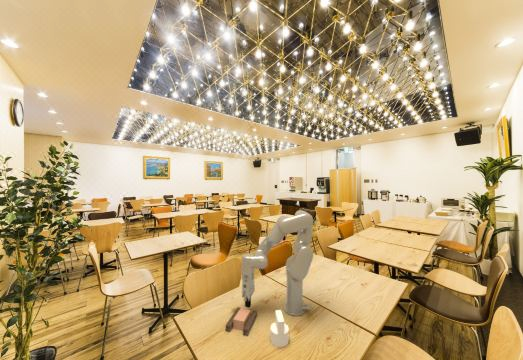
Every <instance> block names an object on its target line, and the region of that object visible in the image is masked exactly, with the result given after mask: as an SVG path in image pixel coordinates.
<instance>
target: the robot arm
mask: <svg viewBox="0 0 523 360" xmlns="http://www.w3.org/2000/svg"><path fill="white" fill-rule="evenodd" d="M313 224H314V218H313V216H312V215H311V214H310V213H308V212H307V211H305V210H302V209H299V210H297V211H296V212H295V214H294V216H292V217H288V216H286V215H281V216H279V217H278V218H277V219H276V222H275V223H274V225H273V227H272V228H271V229H270V231H269V232H268V234H267V236H265V238H264V239H263V240H262V241H261V242H260V244H259V245H258V247H257V248H256V250H255V252H254V254H252V253H249V252H248V253H244V254H242V256H241V280H242V283H241V297H242V298H243V302H244V307H246V308H251V307H252V300H251V299H252V296H253V295H254V293H255V291H256V288H255V287H256V286H255V269H257V270H258V269H259V270H264V269H266V268H267V267H268V264H269V261H268V257H267V256H268V255H269V252H270V251H271V249H272V248H274V247H276V246H278V245H280V244H281V243H282V240H283V239H284V237H285V236H286V234H292V233H296V232H297V235H296V238H295V241H294V243H293V246H292V250H293V253H294V255H291V256H289V257H288V258H287V260H286V263H285V272H286V303H285V304H284V305H283V310H284V312H285V313H286V314H288V315H290V316H294V317H295V316H296V317H299V316H302V315H304V314H305V313H306V311H311V306H309V304H307V303H304V300H303V291H304V290H303V285H304V284H303V280H304V279H306V277H307V276H308V274H309V271H310V267H311V265H312V262H313V259H314V251H313V248H312V247H311V246H310V245H311V241H312V238H313V233H314V228H313V227H314V226H313Z"/></svg>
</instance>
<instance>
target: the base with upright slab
mask: <svg viewBox="0 0 523 360" xmlns="http://www.w3.org/2000/svg"><path fill="white" fill-rule="evenodd" d="M274 314H275V315H274V319H275V320H274V321H273V323H272V324H271V325H270V331H269V332H270V333H269V335H270V337H269V338H270V343H271V344H272V345H273V346H274V347H276V348H284V347H286V346H287V345H288V344H289V342H290V339H289V338H290V335H289V334H290V329H289V325H287V323H285V318H284V316H283V313H282V310H281V309H276V310H275V312H274Z"/></svg>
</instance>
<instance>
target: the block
mask: <svg viewBox="0 0 523 360" xmlns="http://www.w3.org/2000/svg"><path fill="white" fill-rule="evenodd" d="M239 308H240V310H239V311H238V313H237V314H236V316H235V317H234V319H233V328H232V329H235V330H239V331H243V328H244V326H245V324H246V323H247V321H248V319H249V317H250V315H251V313H252V310H251V309H248V308H247V309H246V308H242V307H239Z"/></svg>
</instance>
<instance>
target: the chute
mask: <svg viewBox="0 0 523 360" xmlns="http://www.w3.org/2000/svg"><path fill="white" fill-rule="evenodd" d="M240 308H241V307H238V306H237V307H236V309H235V310H234V312H233V314H232V315H231V317H230V318H229V320H228V321H227V322H226V324H225V332H228V333H231V331H232V329H234V328H233V319H234V317H235V316H236V314H237V313H238V311H239V310H240ZM257 317H258V310H255V309H253V310H251V315H250V317H249V319H248V321H247V323H246V324H245V326H244V328H243V330H242V336H246V337H248V336H249V334H250V333H251V330H252V328H253V325H255V322H256V319H257Z"/></svg>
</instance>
